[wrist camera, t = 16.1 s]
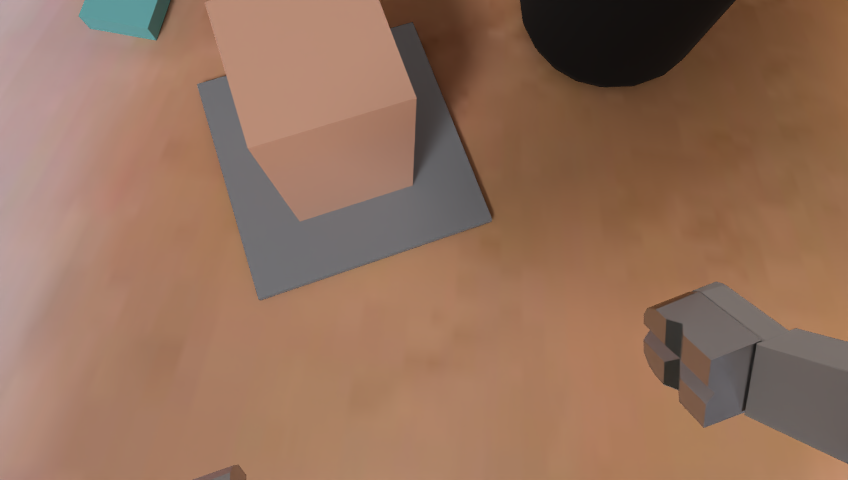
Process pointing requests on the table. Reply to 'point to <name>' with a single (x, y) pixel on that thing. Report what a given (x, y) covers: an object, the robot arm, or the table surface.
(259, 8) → the cover
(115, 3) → the stick
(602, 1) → the coffee jar
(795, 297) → the table surface
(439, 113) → the pad
